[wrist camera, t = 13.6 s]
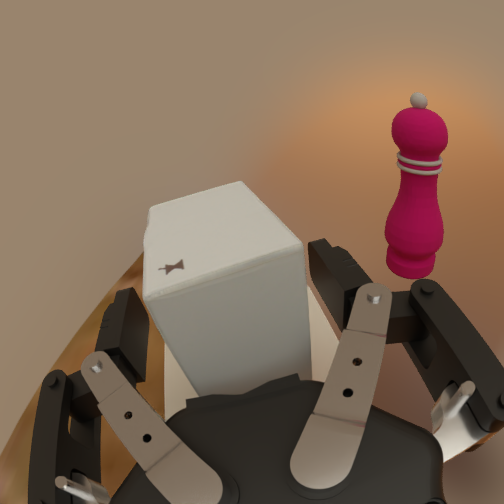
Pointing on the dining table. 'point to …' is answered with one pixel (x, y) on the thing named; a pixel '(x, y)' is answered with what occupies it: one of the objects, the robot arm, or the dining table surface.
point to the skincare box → (227, 290)
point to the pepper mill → (416, 191)
